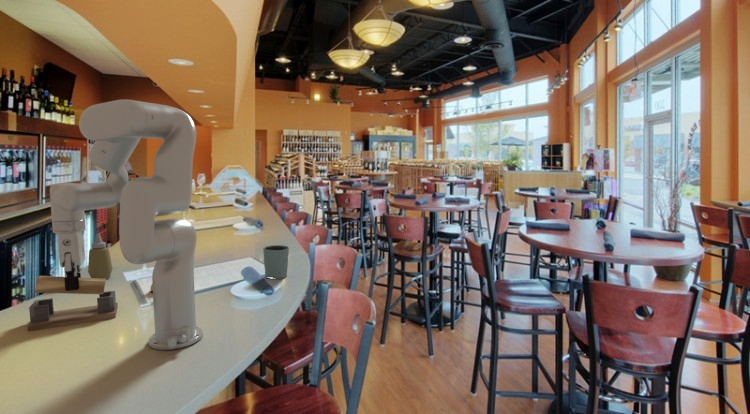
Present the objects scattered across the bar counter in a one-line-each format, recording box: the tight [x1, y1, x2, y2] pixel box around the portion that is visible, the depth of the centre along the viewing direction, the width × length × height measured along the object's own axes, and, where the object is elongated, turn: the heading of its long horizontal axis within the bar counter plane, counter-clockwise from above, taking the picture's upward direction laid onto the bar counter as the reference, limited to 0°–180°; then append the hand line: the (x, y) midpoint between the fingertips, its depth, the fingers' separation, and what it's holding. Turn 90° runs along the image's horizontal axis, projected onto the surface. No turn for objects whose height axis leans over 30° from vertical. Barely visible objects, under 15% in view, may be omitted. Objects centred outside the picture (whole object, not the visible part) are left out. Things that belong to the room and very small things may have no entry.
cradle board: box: [27, 290, 119, 332], centre depth 117 cm, size 10×20×6 cm, turn 119°
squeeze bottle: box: [87, 233, 114, 280], centre depth 157 cm, size 8×8×18 cm
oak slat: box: [34, 275, 107, 295], centre depth 117 cm, size 3×16×4 cm, turn 119°
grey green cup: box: [262, 244, 290, 280], centre depth 162 cm, size 10×10×12 cm
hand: (73, 287), depth 117 cm, fingers closed on oak slat, 3 cm apart
